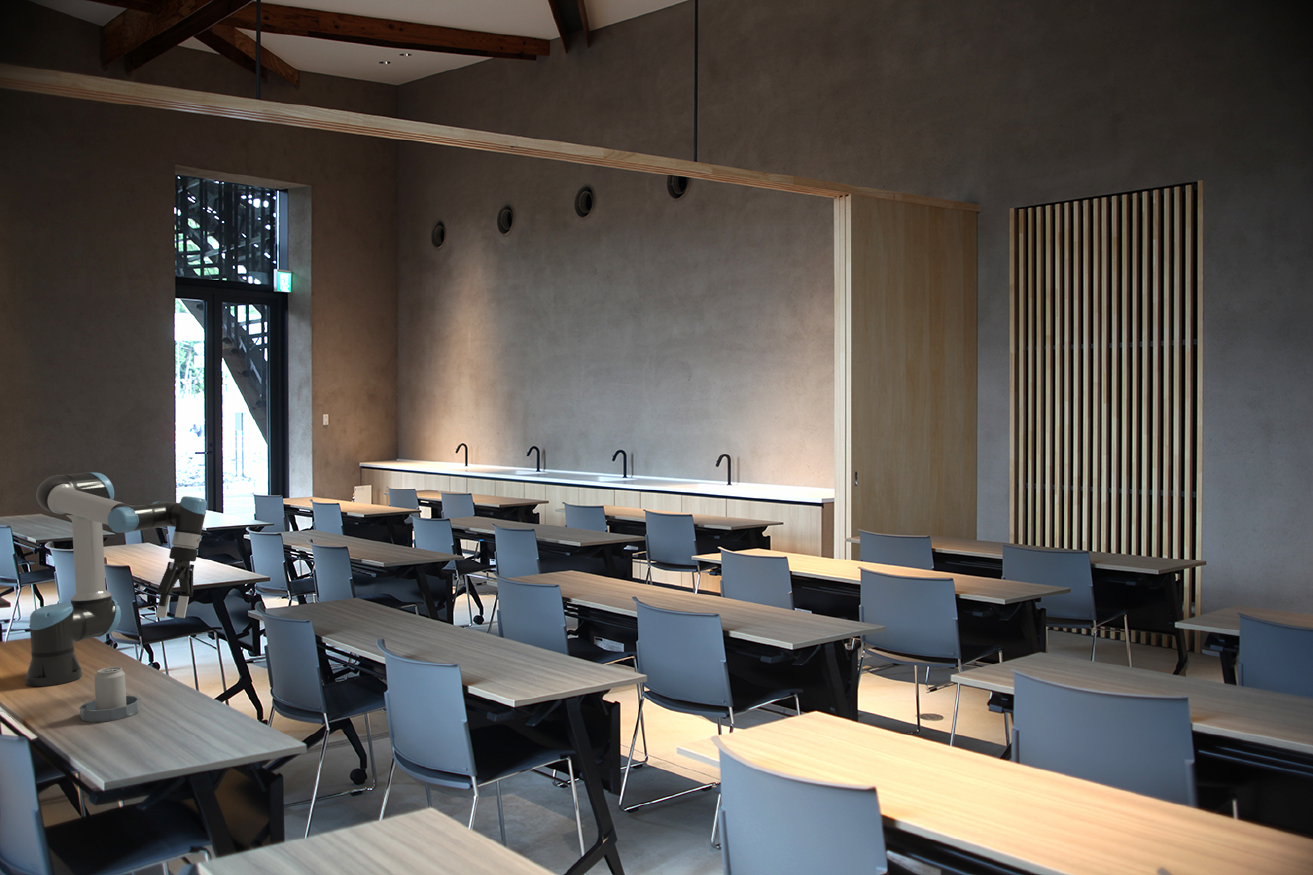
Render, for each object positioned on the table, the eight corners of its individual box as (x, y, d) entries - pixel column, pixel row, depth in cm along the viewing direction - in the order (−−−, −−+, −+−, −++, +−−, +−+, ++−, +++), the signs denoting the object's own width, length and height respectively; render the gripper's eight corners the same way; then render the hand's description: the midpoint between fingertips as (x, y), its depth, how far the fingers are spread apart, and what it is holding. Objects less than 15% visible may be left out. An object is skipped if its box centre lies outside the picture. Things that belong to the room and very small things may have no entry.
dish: (75, 714, 276) (74, 703, 276) (131, 702, 286) (130, 692, 286) (89, 725, 266) (88, 714, 266) (147, 713, 276) (146, 702, 276)
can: (117, 715, 272) (115, 672, 272) (90, 716, 273) (88, 672, 272) (132, 707, 280) (130, 665, 280) (105, 707, 280) (104, 665, 280)
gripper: (180, 546, 291) (165, 619, 287) (212, 551, 315) (199, 618, 311) (154, 542, 290) (139, 615, 287) (188, 548, 315) (175, 615, 311)
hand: (170, 617), depth 299 cm, fingers open, 13 cm apart
